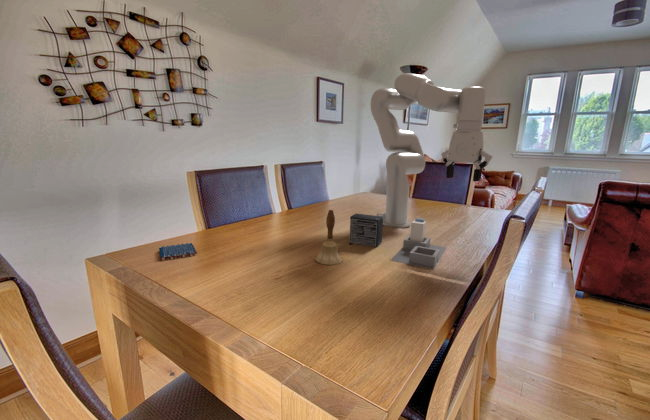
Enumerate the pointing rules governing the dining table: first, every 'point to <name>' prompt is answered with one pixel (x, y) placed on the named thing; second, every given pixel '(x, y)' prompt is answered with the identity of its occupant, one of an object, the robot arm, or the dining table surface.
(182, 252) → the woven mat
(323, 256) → the hand bell
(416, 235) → the plug
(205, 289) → the dining table surface
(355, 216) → the small box
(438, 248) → the panel
